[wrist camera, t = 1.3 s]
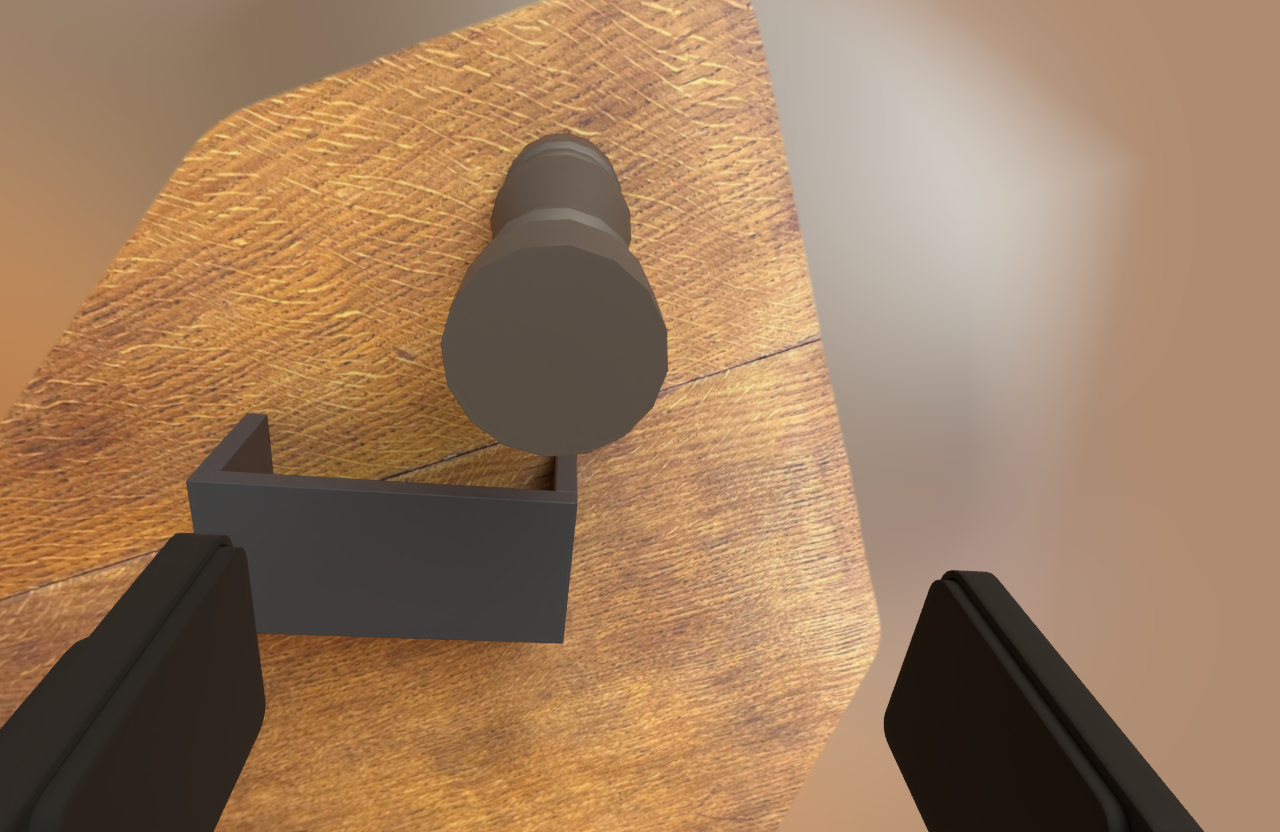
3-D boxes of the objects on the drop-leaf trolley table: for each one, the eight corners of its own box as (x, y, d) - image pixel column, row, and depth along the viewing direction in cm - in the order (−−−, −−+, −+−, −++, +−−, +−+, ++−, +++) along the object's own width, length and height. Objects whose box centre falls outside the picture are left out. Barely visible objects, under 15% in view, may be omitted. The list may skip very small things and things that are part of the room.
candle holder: (511, 124, 39) (435, 214, 17) (627, 143, 40) (701, 252, 18) (501, 240, 42) (425, 453, 19) (610, 255, 43) (656, 475, 20)
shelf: (262, 548, 49) (209, 632, 42) (246, 413, 45) (185, 480, 38) (563, 562, 52) (563, 644, 45) (576, 435, 48) (577, 503, 40)
